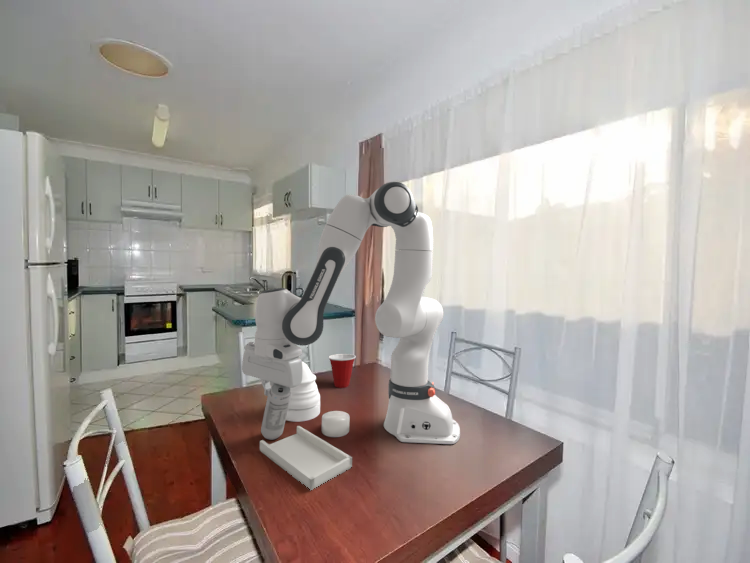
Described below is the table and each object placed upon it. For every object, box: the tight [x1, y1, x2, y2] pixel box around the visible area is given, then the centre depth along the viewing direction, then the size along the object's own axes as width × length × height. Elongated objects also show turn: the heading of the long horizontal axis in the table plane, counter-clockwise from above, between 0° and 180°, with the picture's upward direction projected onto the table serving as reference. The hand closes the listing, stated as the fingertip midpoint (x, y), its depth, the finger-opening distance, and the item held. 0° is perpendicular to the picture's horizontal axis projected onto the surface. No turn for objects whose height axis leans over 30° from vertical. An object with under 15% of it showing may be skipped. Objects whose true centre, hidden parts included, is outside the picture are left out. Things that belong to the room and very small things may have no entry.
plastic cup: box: [328, 353, 357, 389], centre depth 136 cm, size 11×11×12 cm
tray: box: [259, 425, 353, 491], centre depth 85 cm, size 22×12×2 cm, turn 47°
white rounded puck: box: [321, 410, 351, 438], centre depth 100 cm, size 8×8×4 cm
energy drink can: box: [260, 384, 291, 441], centre depth 94 cm, size 6×6×15 cm
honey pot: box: [286, 361, 321, 423], centre depth 111 cm, size 13×13×18 cm
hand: (269, 395), depth 96 cm, fingers closed
